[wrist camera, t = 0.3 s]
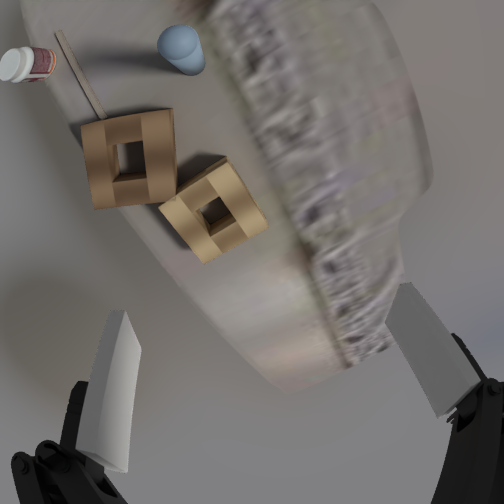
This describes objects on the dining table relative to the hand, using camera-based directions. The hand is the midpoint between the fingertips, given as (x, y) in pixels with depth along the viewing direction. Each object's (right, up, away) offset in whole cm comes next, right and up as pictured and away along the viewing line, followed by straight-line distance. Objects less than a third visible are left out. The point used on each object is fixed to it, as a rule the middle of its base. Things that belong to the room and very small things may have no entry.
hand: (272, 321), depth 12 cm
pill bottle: (-29, +28, +9) cm, 41 cm away
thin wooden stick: (-23, +26, +11) cm, 36 cm away
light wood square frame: (-6, +9, +24) cm, 27 cm away
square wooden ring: (-16, +15, +19) cm, 29 cm away
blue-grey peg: (-8, +25, +14) cm, 30 cm away
